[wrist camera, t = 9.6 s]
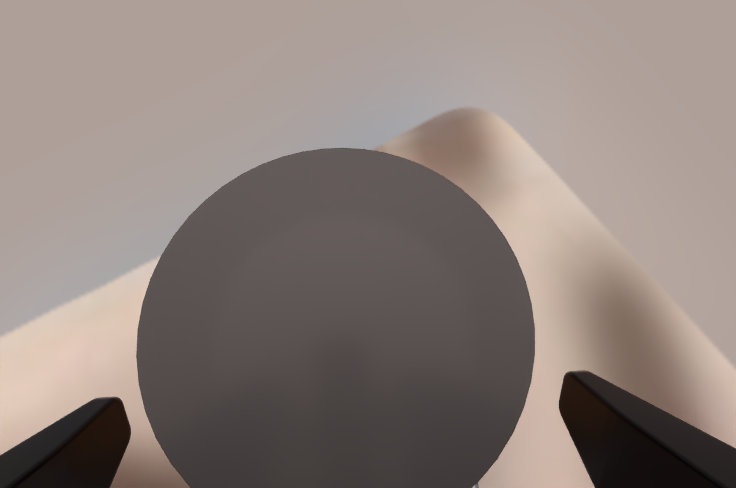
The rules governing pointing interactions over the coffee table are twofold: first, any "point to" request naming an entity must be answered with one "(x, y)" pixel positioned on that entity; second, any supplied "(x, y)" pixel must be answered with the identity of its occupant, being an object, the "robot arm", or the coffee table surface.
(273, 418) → the peg
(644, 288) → the coffee table surface
